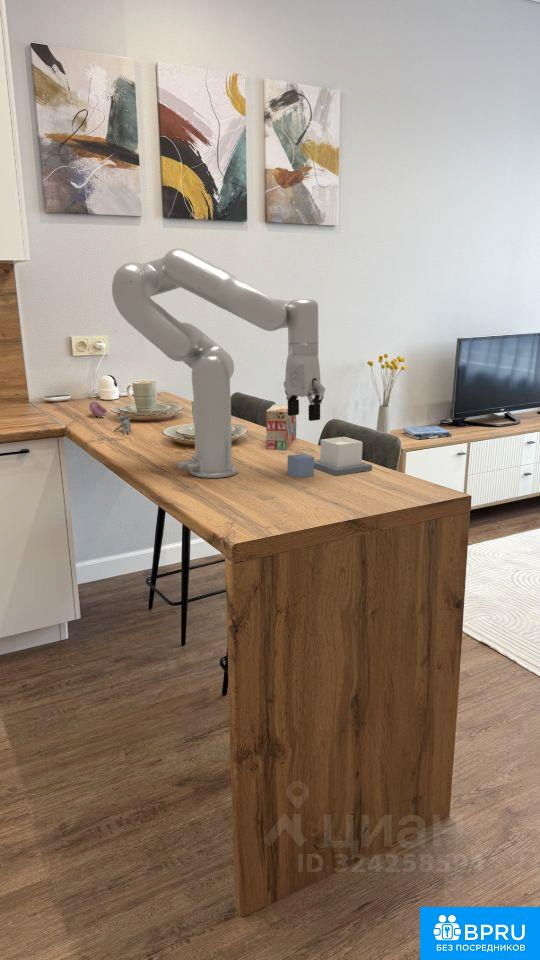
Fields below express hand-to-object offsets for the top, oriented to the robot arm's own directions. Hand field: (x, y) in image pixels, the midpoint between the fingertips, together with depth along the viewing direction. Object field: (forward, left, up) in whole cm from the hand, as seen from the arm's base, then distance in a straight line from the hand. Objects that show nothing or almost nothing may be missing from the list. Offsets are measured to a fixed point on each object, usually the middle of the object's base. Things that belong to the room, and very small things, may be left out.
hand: (303, 417), depth 180 cm
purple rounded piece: (-18, +116, -15) cm, 118 cm away
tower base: (+13, 0, -15) cm, 20 cm away
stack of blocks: (+17, +38, -16) cm, 44 cm away
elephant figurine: (-20, +79, -15) cm, 83 cm away
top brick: (0, 0, -15) cm, 15 cm away
